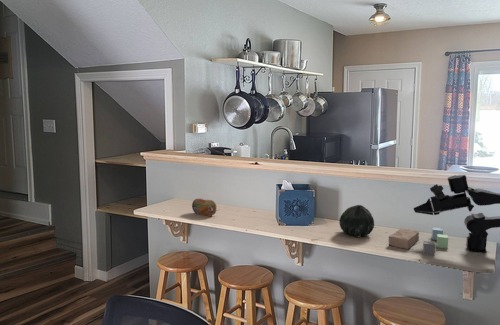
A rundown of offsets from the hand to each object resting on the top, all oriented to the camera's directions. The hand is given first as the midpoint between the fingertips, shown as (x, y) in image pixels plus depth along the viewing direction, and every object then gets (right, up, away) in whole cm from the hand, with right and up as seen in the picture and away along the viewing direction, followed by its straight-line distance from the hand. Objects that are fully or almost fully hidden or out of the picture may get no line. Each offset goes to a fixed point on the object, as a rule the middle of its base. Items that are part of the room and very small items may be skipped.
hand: (414, 210), depth 183 cm
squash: (-21, -13, +14) cm, 28 cm away
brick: (-3, -15, +3) cm, 15 cm away
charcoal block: (+2, -16, -10) cm, 19 cm away
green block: (+11, -15, -1) cm, 19 cm away
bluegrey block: (+13, -13, +8) cm, 21 cm away
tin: (-93, -8, +46) cm, 104 cm away
